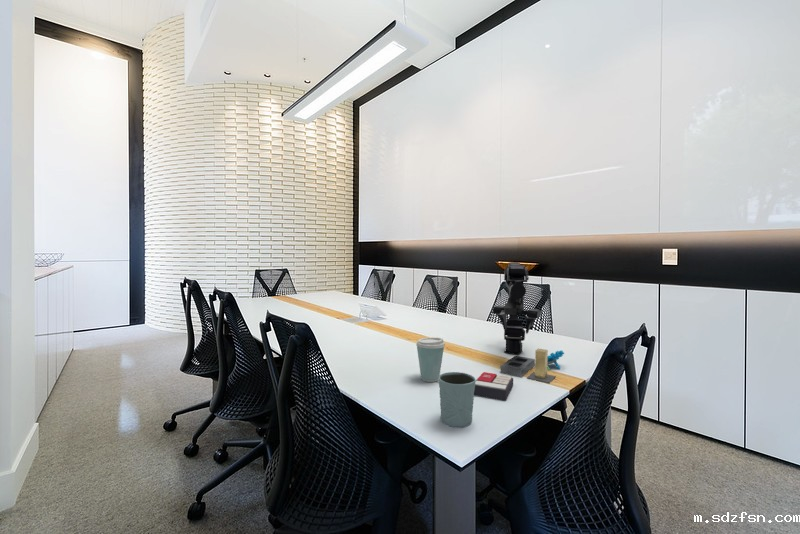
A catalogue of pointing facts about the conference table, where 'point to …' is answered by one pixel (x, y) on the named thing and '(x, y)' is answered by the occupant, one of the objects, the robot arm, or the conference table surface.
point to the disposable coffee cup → (430, 357)
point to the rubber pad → (546, 380)
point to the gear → (554, 358)
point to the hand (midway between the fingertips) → (515, 332)
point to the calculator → (493, 386)
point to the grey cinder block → (517, 366)
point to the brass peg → (541, 363)
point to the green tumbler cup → (456, 398)
